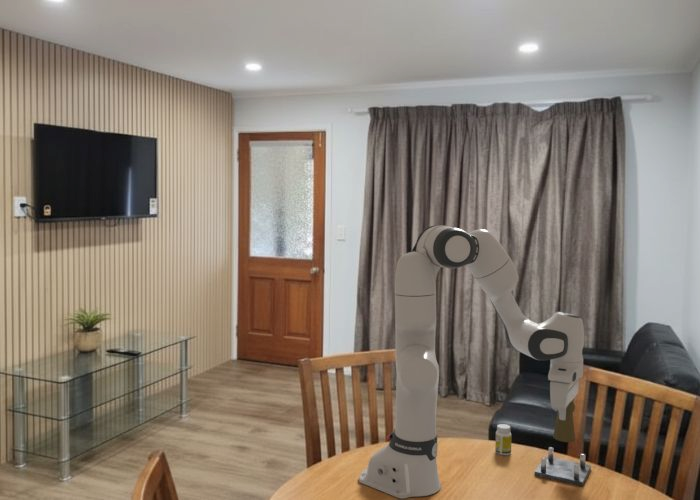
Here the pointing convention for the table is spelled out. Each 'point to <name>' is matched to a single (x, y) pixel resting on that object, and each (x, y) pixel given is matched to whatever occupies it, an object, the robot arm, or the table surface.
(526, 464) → the table surface
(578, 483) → the standoff chassis
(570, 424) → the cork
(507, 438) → the supplement bottle
